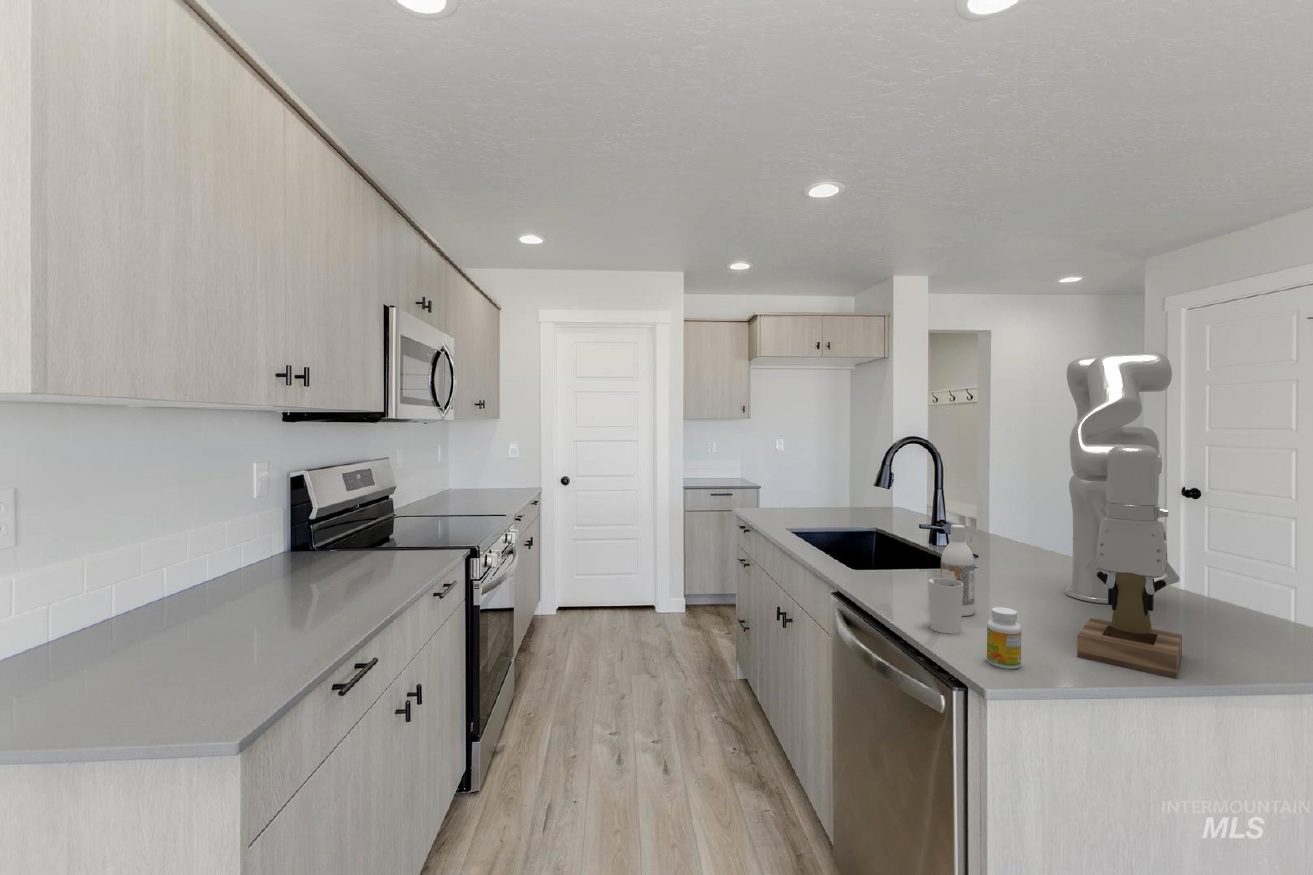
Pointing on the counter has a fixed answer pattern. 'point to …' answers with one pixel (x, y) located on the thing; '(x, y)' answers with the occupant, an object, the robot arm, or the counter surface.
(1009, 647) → the supplement bottle
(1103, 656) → the socket block
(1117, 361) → the robot arm
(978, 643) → the counter surface
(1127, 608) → the olive brown peg
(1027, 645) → the counter surface
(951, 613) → the white cylindrical cup
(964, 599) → the bath foam
